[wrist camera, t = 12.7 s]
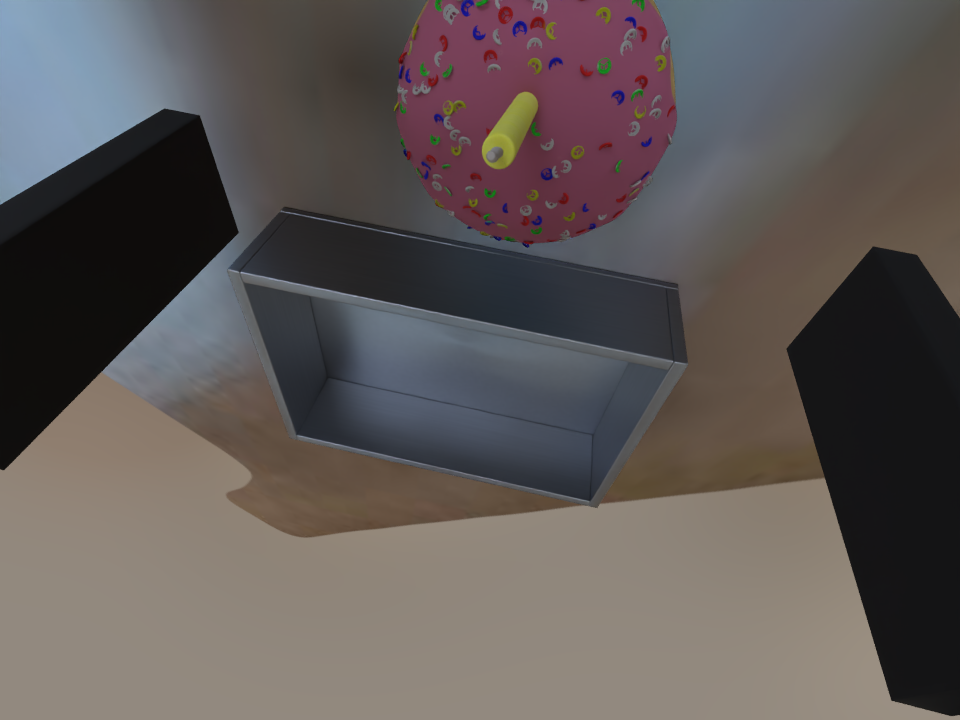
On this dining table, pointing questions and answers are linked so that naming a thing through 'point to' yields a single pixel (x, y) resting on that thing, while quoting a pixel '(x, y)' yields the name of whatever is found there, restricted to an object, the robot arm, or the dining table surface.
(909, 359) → the robot arm
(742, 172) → the dining table surface
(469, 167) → the cupcake
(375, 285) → the open rectangular bin
